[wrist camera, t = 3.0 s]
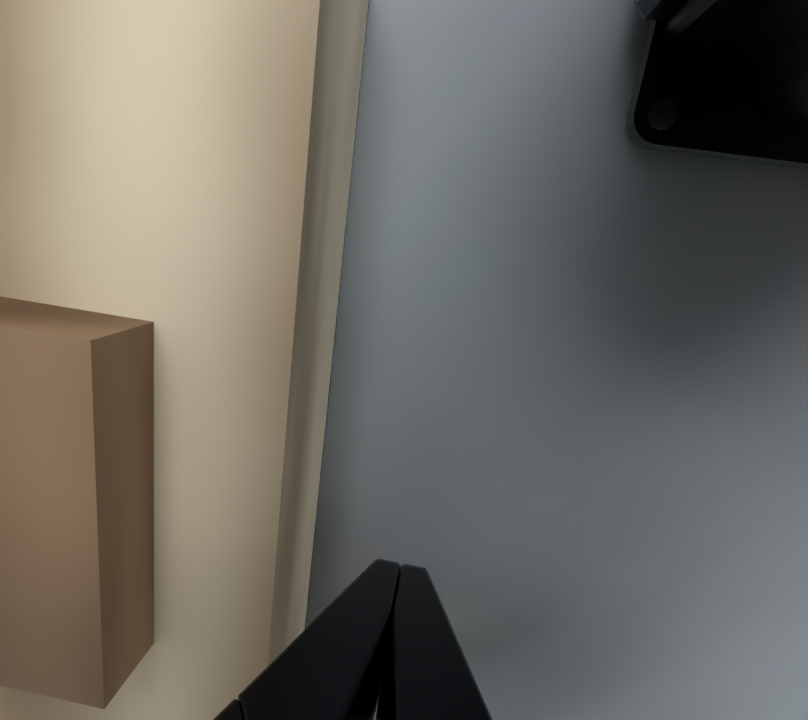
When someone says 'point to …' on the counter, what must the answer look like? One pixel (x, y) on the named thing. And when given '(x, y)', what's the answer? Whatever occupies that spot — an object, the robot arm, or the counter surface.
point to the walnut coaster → (75, 500)
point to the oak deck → (194, 288)
